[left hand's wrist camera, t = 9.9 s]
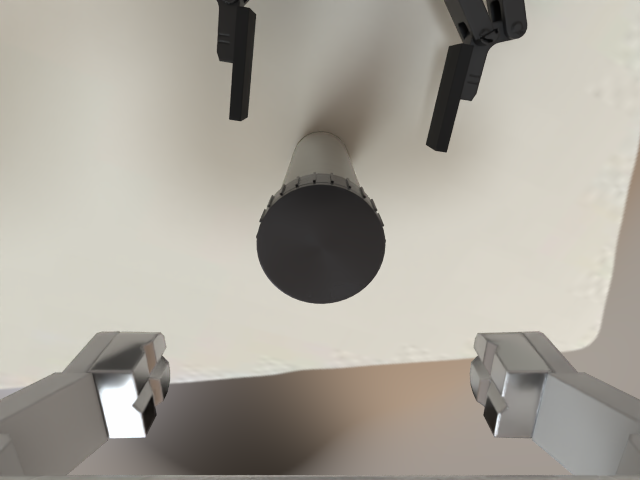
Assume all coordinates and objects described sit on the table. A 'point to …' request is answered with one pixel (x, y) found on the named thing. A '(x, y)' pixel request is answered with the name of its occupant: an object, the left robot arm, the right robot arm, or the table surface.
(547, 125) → the table surface
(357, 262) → the lid
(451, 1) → the right robot arm
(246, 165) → the table surface
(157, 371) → the left robot arm
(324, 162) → the jar
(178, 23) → the table surface
